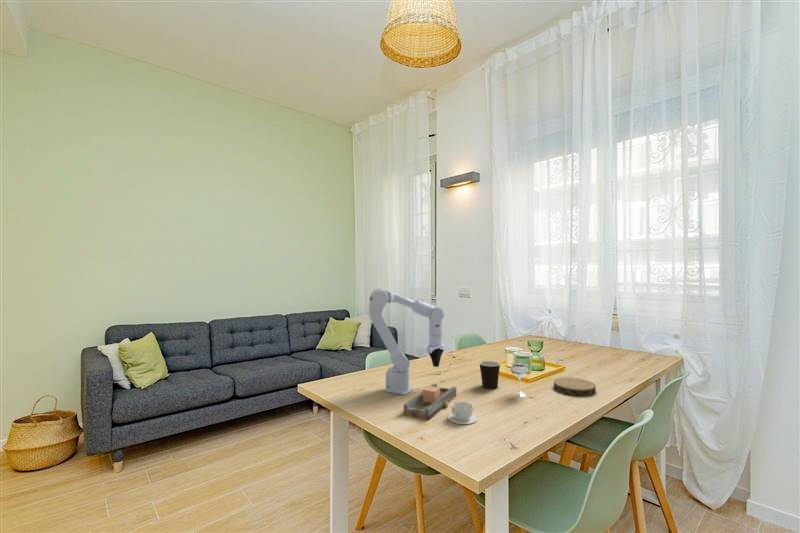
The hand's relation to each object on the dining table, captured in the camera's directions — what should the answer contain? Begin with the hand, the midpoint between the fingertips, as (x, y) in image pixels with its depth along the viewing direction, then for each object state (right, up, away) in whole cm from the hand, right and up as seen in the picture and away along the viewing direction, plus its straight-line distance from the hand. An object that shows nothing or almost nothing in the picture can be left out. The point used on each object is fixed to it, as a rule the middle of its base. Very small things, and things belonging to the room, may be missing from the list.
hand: (436, 366), depth 159 cm
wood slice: (+58, -9, -4) cm, 59 cm away
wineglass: (+33, -9, -8) cm, 36 cm away
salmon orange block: (-4, -8, -19) cm, 21 cm away
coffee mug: (+24, -9, +2) cm, 26 cm away
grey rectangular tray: (-3, -10, -19) cm, 21 cm away
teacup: (+6, -10, -32) cm, 34 cm away
